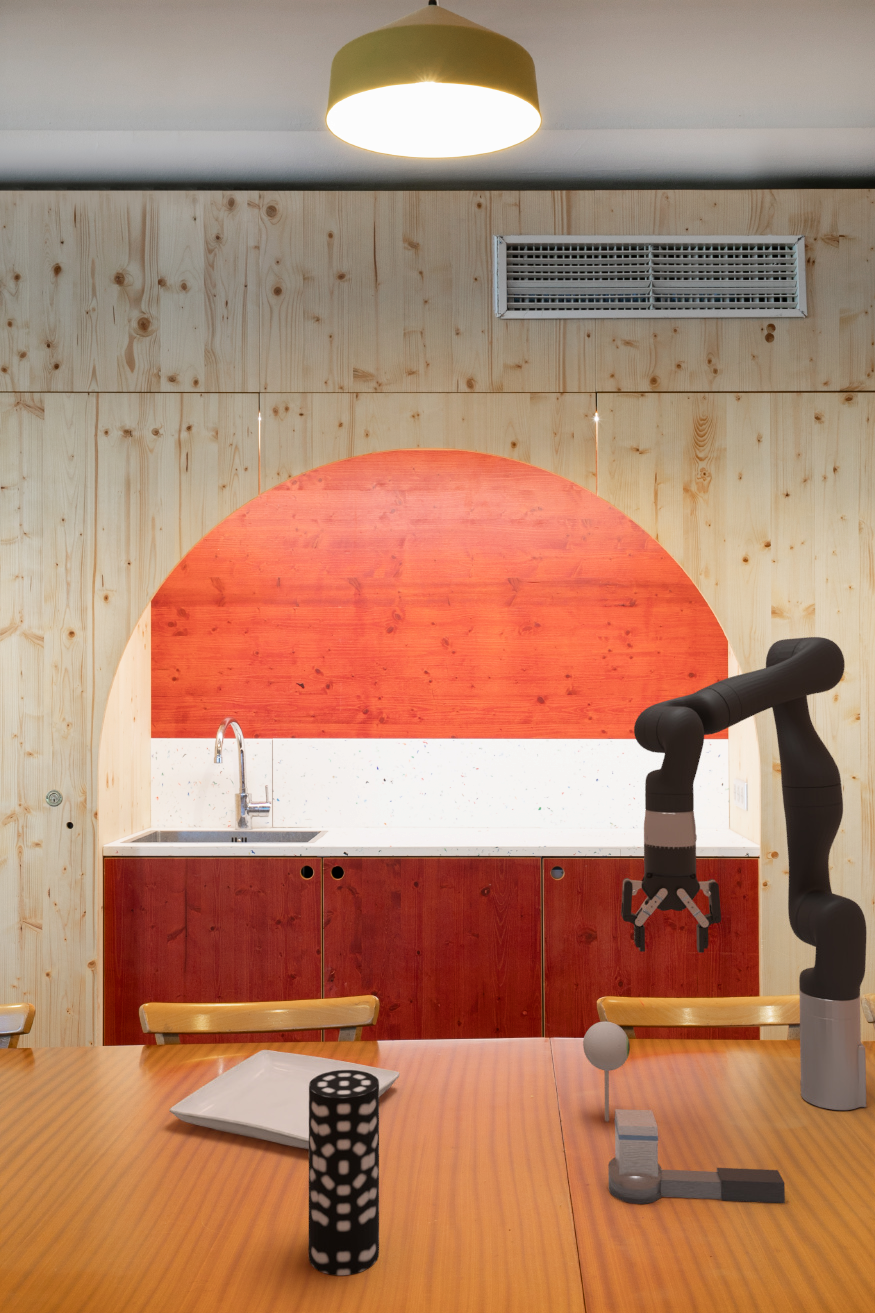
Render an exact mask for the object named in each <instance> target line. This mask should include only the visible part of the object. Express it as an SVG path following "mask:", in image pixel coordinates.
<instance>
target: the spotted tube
mask: <svg viewBox="0 0 875 1313" xmlns="http://www.w3.org/2000/svg"><path fill="white" fill-rule="evenodd" d="M379 1255H380V1097H379V1080H378V1079H377V1077H375V1076H374V1075H372V1074H370V1073H367V1072H363V1071H358V1070H337V1071H331V1072H327V1073H323V1074H321V1075H318V1076H316V1077H315V1078H313V1079H312V1080H311V1081H310V1083H309V1149H308V1261H309V1263H310V1265H311V1266H312V1267H313V1268H314V1269H315V1270H316V1271H319V1272H321V1273H322V1274H327V1275H332V1276H348V1275H349V1276H350V1275H354V1274H359V1273H362V1272H363V1271H365V1270H368V1269H369V1268H371V1267H372V1266H374V1264H375V1263H376V1262H377V1260H378V1258H379Z"/></svg>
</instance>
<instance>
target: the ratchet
mask: <svg viewBox="0 0 875 1313" xmlns="http://www.w3.org/2000/svg"><path fill="white" fill-rule="evenodd" d="M607 1166H608V1169H607V1170H608V1173H607V1175H608V1179H607V1180H608V1191H609V1194H611V1195H612V1196H613V1197H614V1198H615V1199H617V1200H619V1201H621V1202H623V1203H624V1202H625V1203H628V1204H635V1205H645V1204H652V1203H655V1202H656V1201H659V1199H661V1198H663V1197H664V1198H685V1199H708V1200H721V1201H725V1202H726V1201H728V1202H747V1203H751V1202H752V1203H768V1204H769V1203H772V1204H786V1198H785V1197H786V1196H785V1194H786V1192H785V1186H786V1184H785V1181H784V1179H783V1177H782V1176H781V1173H780V1172H779V1170H778V1169H759V1168H738V1167H737V1168H735V1167H716V1171H707V1170H705V1171H704V1170H685V1169H683V1170H682V1169H680V1170H679V1169H678V1170H677V1169H662V1167H661V1165H660V1164H659V1163H658V1177H638V1176H619V1172H618V1167H617V1163H616V1158H615V1157H613V1158H612V1159H610V1161H609V1162H608V1165H607Z"/></svg>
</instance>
